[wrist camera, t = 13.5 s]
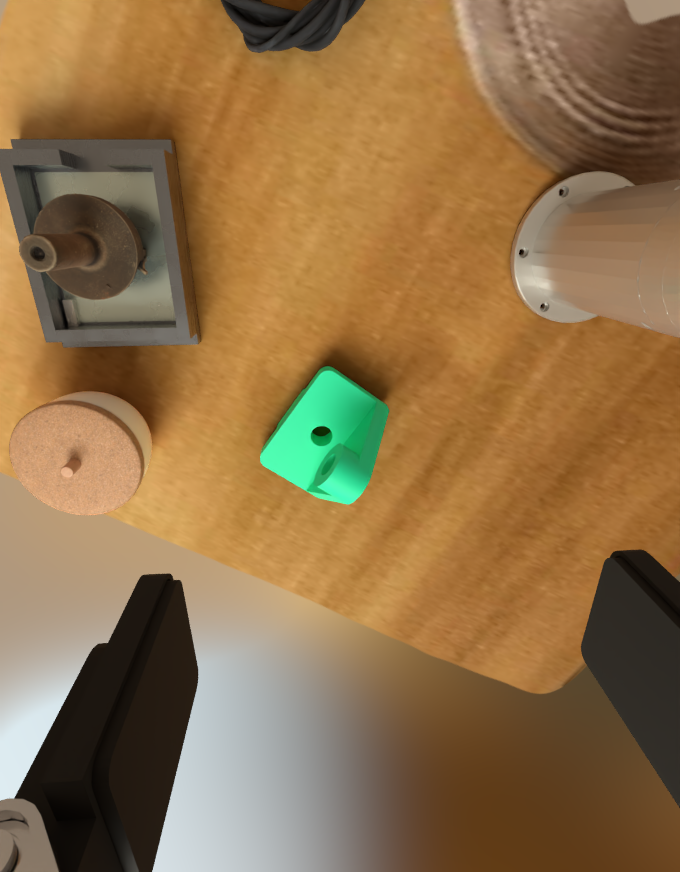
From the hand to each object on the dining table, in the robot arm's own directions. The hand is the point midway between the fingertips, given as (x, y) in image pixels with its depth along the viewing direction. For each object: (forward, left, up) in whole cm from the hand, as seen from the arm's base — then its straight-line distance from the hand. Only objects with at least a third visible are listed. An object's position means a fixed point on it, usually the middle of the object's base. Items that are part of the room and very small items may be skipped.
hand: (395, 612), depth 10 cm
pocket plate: (+18, -6, -36) cm, 41 cm away
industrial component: (+17, -6, -35) cm, 40 cm away
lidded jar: (+22, +10, -37) cm, 44 cm away
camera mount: (+1, +11, -37) cm, 38 cm away
